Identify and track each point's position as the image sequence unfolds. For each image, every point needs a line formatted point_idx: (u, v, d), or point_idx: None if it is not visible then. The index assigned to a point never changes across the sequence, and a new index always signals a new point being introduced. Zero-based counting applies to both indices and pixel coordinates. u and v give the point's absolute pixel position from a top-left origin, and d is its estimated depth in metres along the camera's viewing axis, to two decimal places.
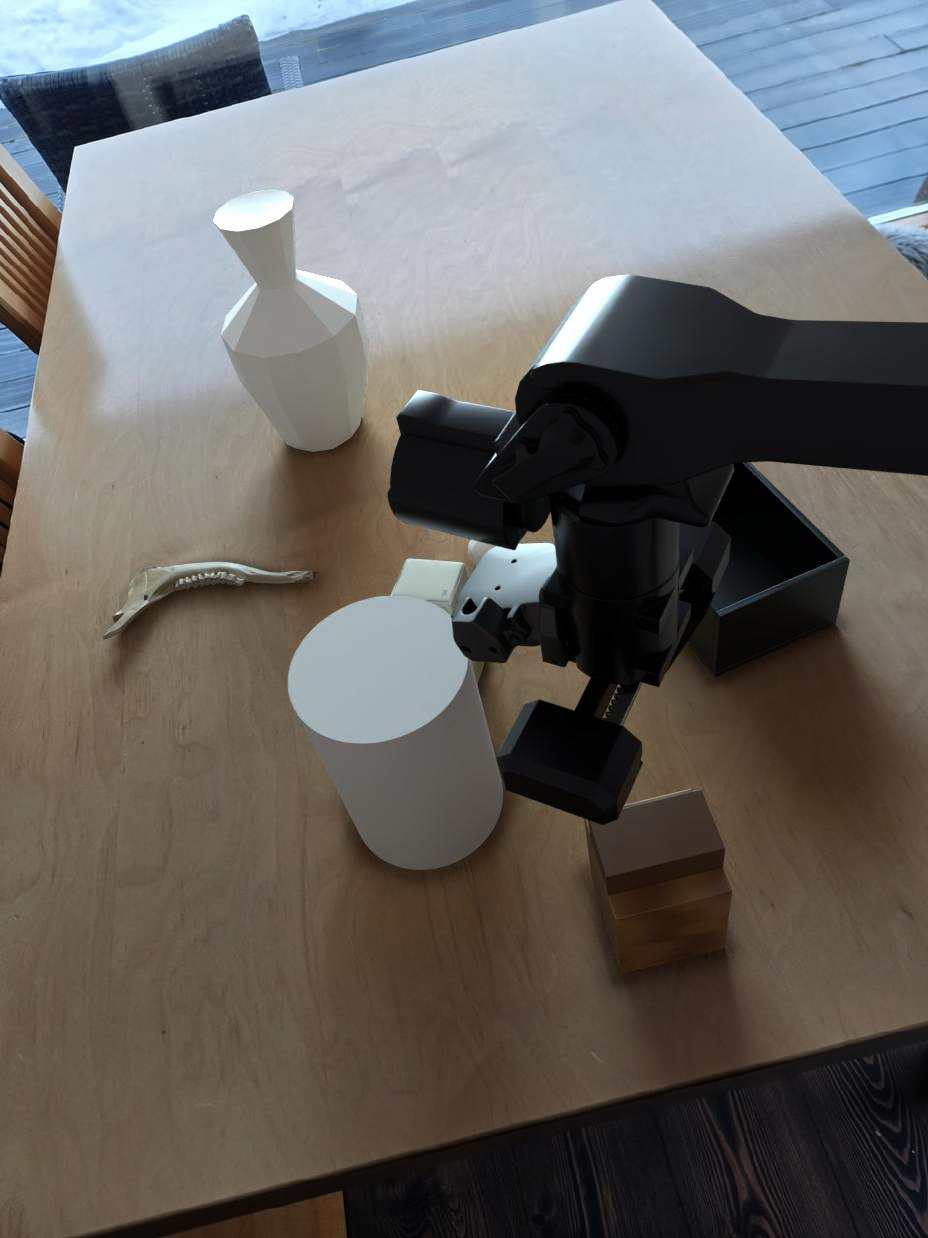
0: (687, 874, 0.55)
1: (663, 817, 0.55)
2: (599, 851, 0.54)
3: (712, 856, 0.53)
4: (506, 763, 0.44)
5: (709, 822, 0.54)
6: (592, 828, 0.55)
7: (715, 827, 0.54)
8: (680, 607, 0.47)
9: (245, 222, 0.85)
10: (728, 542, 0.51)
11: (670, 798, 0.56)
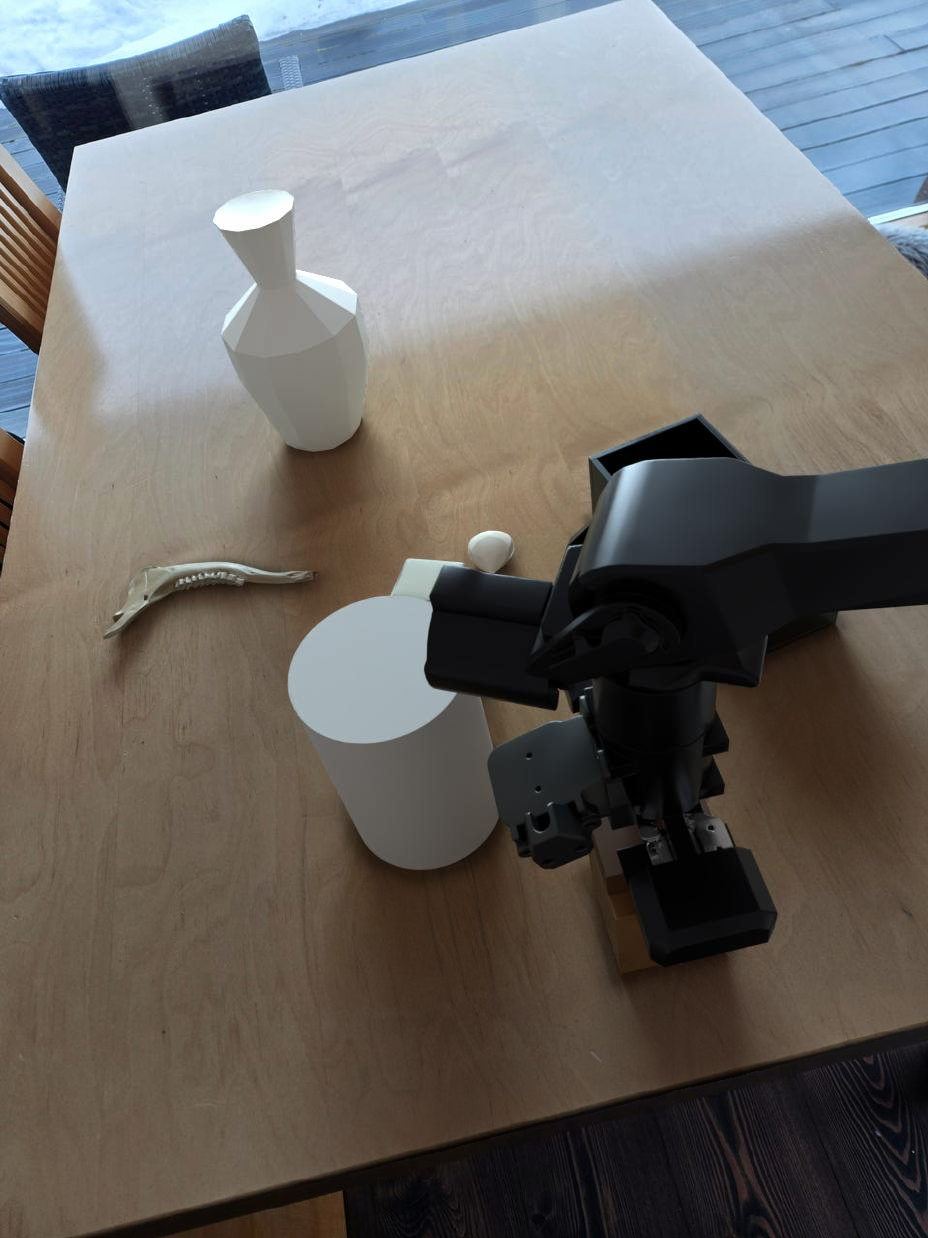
0: None
1: None
2: (599, 851, 0.54)
3: None
4: (667, 943, 0.43)
5: None
6: None
7: None
8: None
9: (245, 222, 0.85)
10: None
11: None
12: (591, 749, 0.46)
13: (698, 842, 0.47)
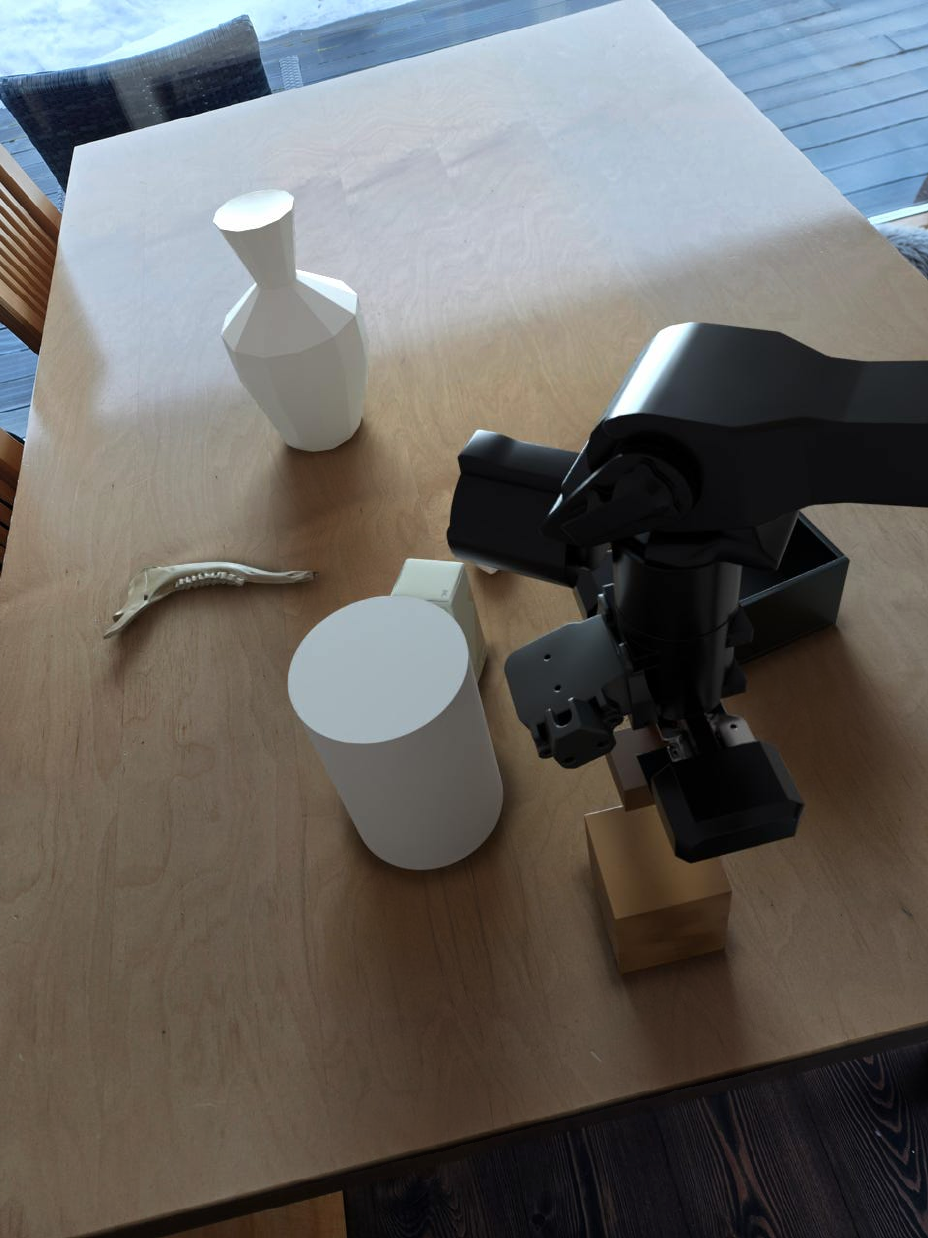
0: None
1: None
2: (616, 766, 0.53)
3: None
4: (694, 835, 0.42)
5: None
6: None
7: None
8: None
9: (245, 222, 0.85)
10: None
11: None
12: (611, 646, 0.45)
13: (720, 742, 0.46)
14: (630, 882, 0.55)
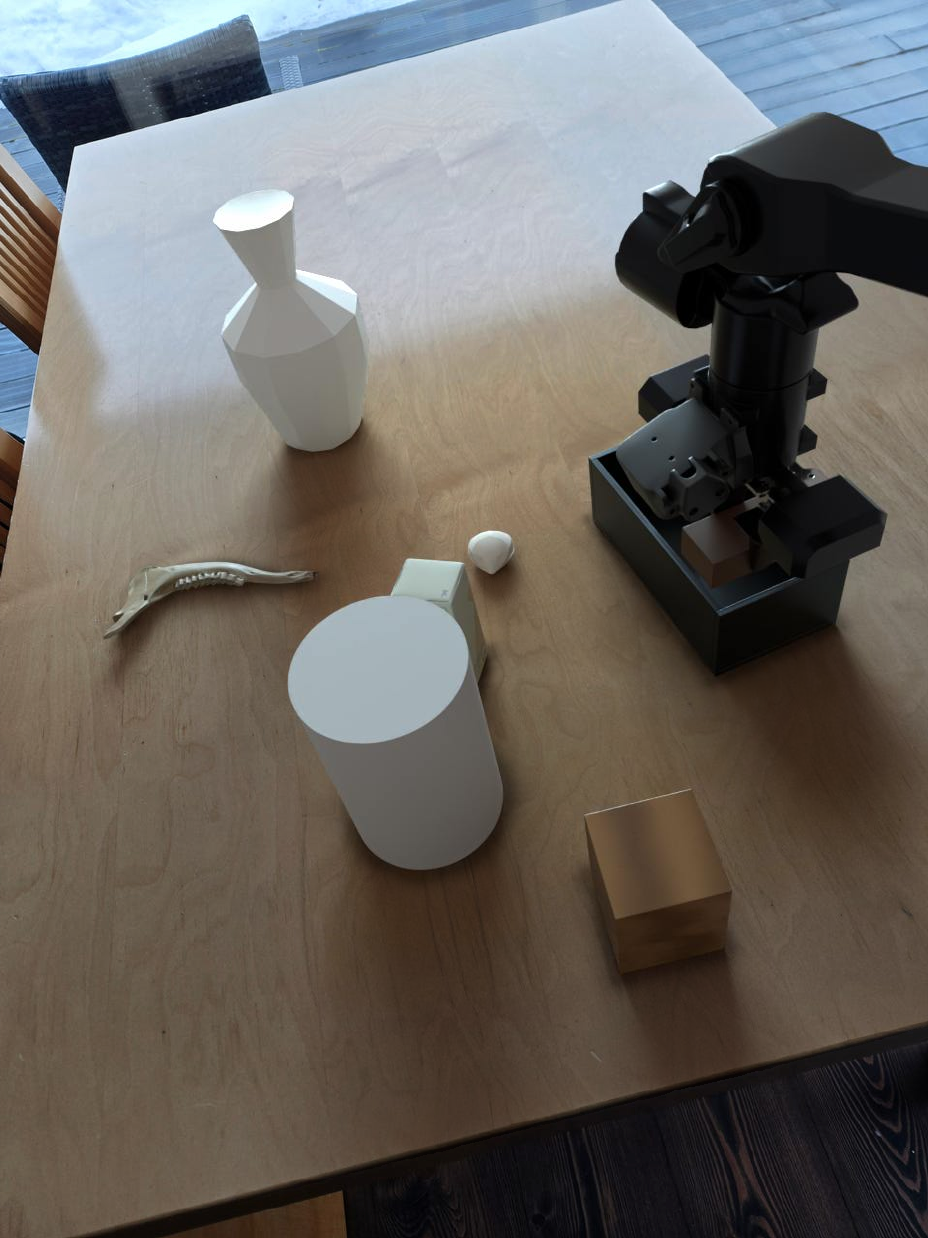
0: None
1: None
2: (701, 548, 0.62)
3: None
4: (809, 547, 0.52)
5: None
6: (689, 534, 0.63)
7: None
8: None
9: (245, 222, 0.85)
10: None
11: (747, 501, 0.65)
12: (710, 417, 0.54)
13: None
14: (630, 882, 0.55)
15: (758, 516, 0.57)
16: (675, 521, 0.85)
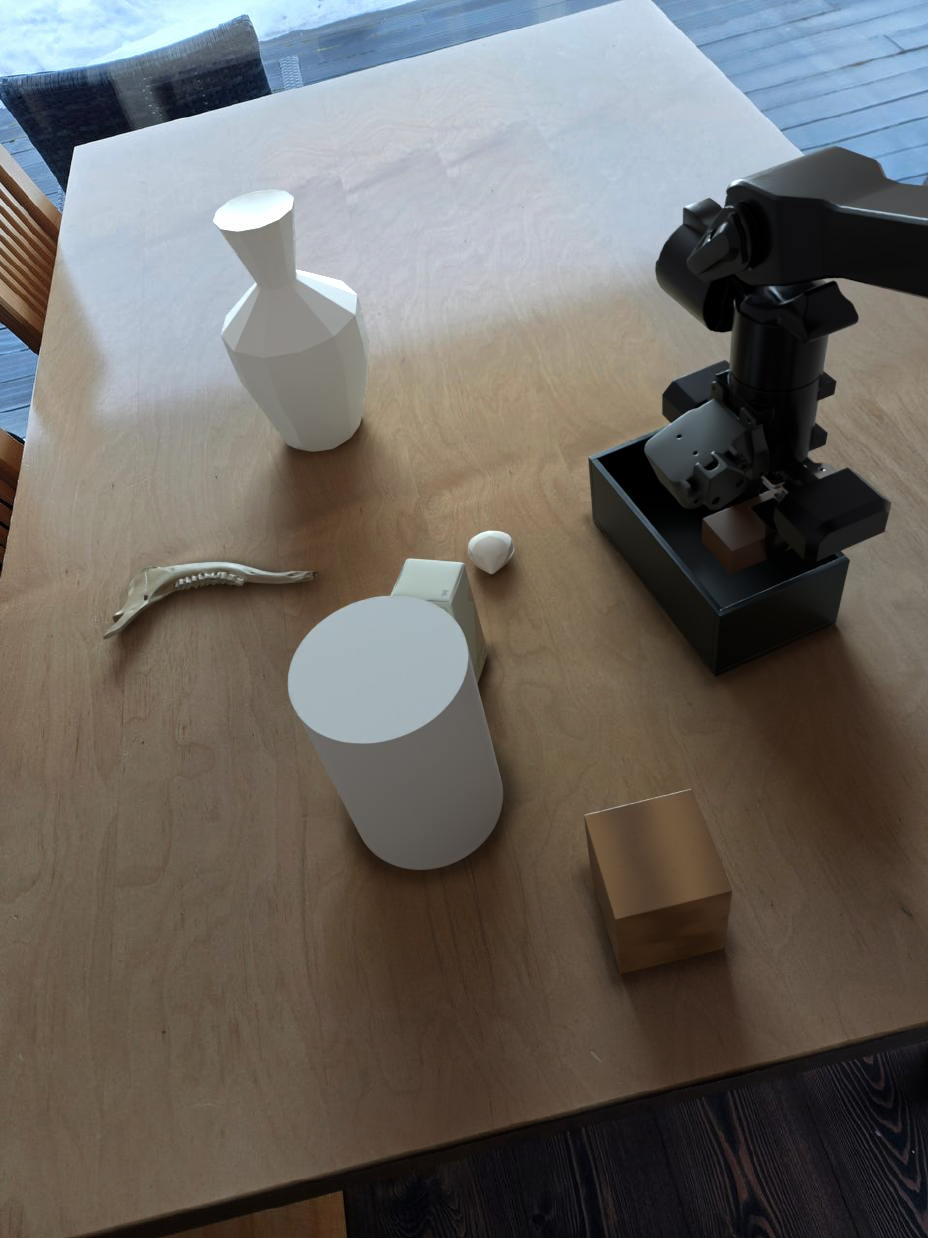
0: (787, 548, 0.69)
1: None
2: (720, 537, 0.68)
3: None
4: (820, 532, 0.57)
5: None
6: (709, 524, 0.69)
7: None
8: None
9: (245, 222, 0.85)
10: None
11: (762, 494, 0.70)
12: (730, 416, 0.60)
13: None
14: (630, 882, 0.55)
15: (773, 506, 0.63)
16: (675, 521, 0.85)
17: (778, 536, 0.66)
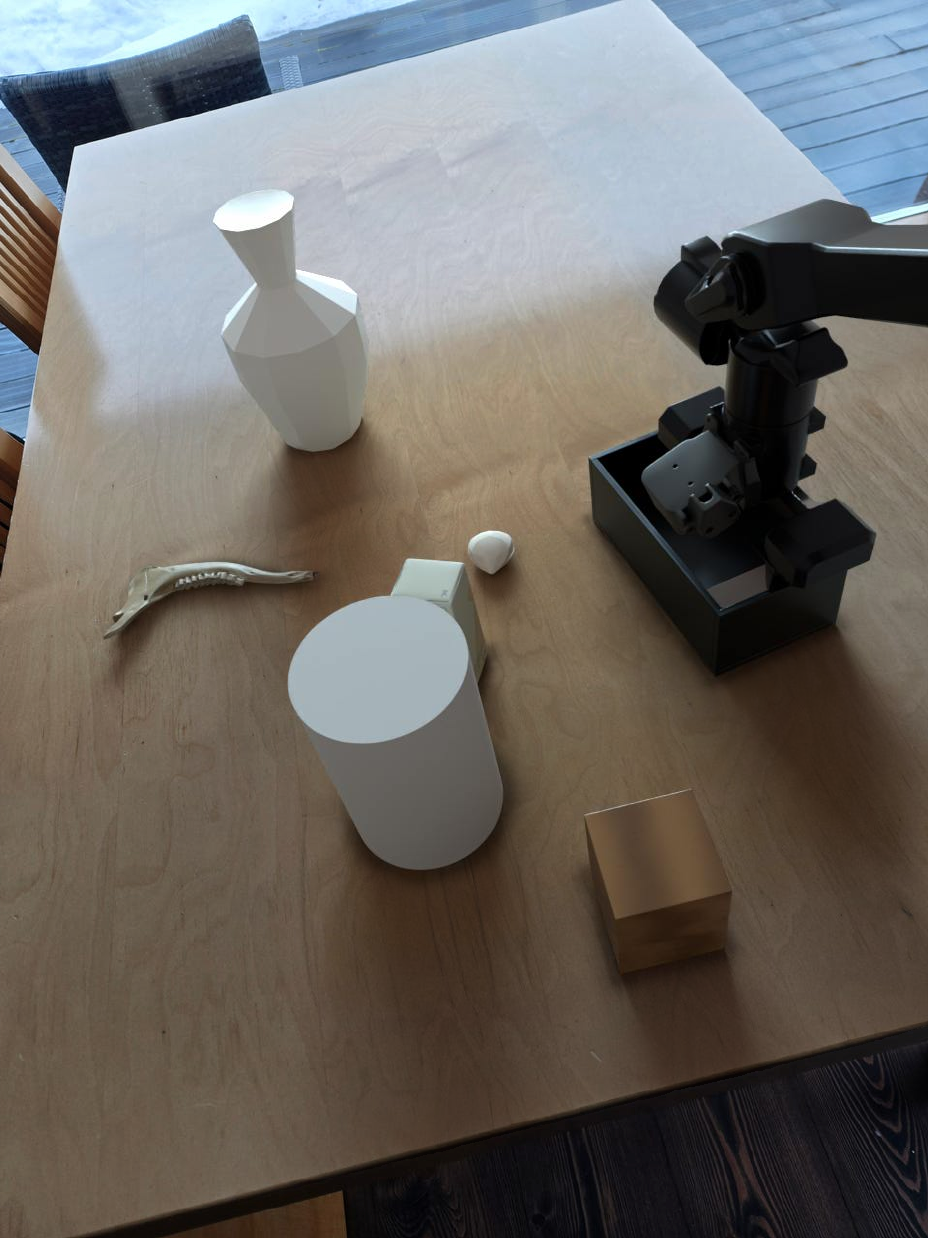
0: None
1: (752, 582, 0.76)
2: None
3: None
4: (809, 562, 0.60)
5: None
6: None
7: None
8: None
9: (245, 222, 0.85)
10: None
11: (753, 570, 0.77)
12: (724, 448, 0.63)
13: None
14: (630, 882, 0.55)
15: None
16: None
17: None
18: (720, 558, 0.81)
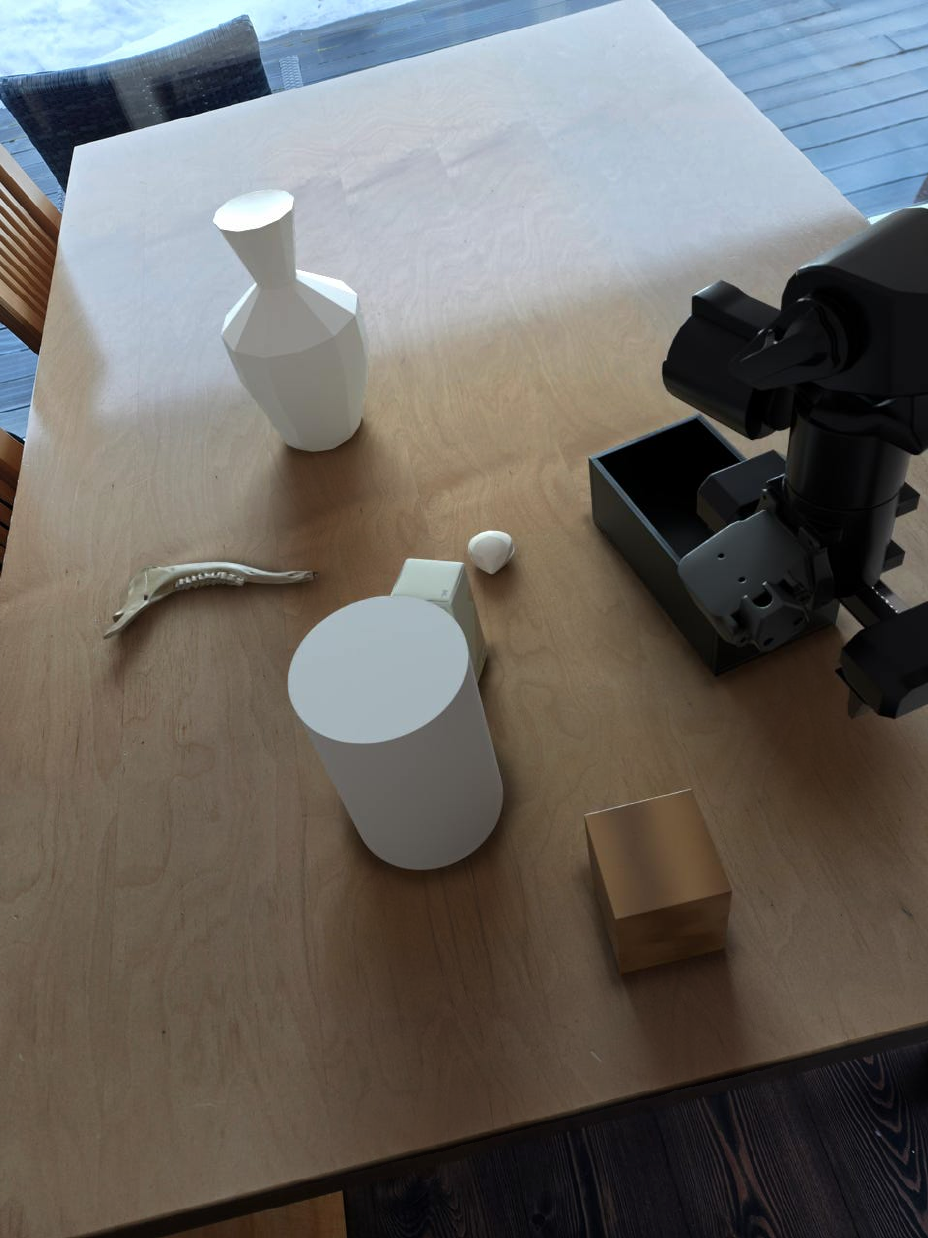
0: None
1: None
2: None
3: None
4: (902, 687, 0.45)
5: None
6: None
7: None
8: None
9: (245, 222, 0.85)
10: None
11: None
12: (785, 533, 0.49)
13: None
14: (630, 882, 0.55)
15: None
16: (675, 521, 0.85)
17: None
18: None
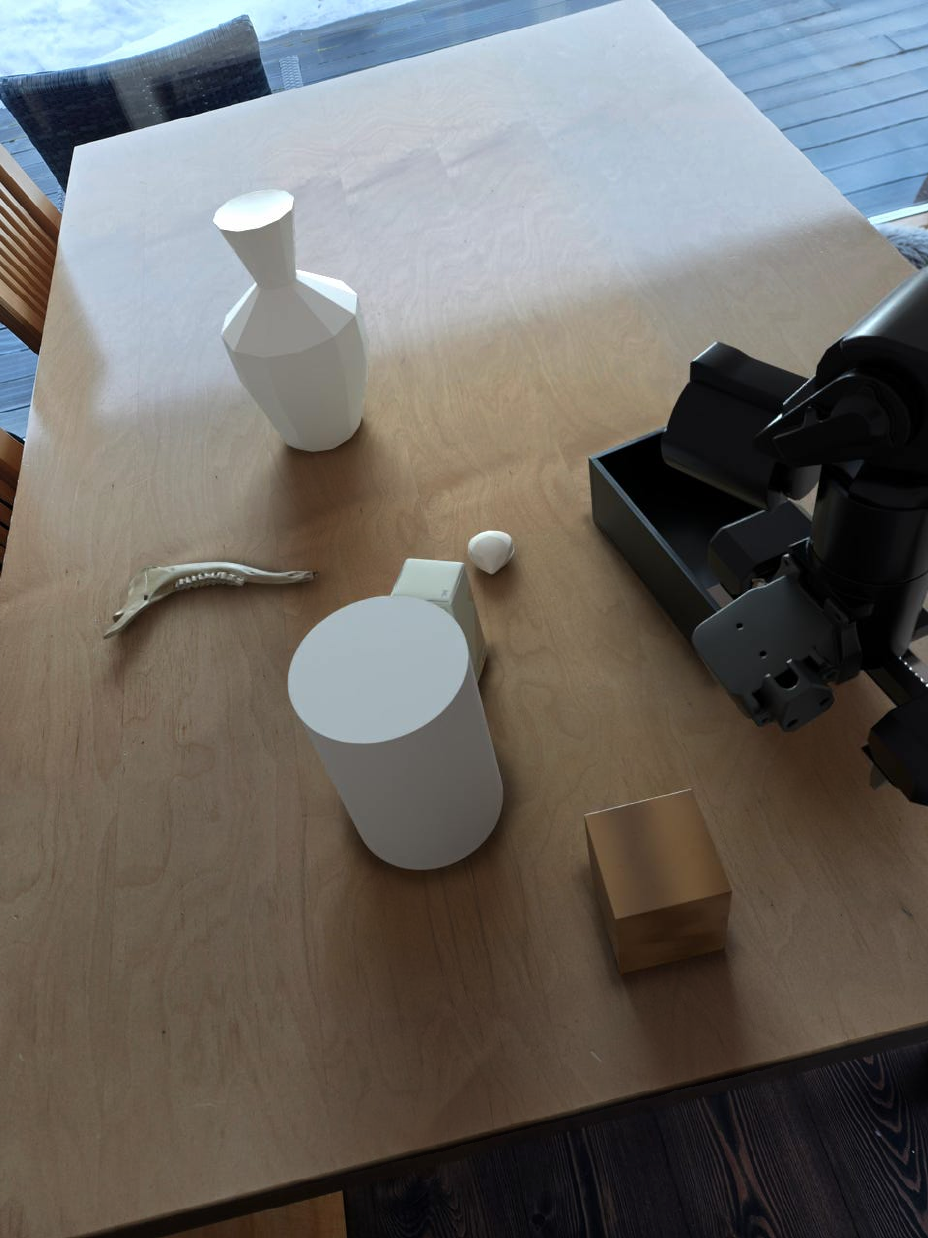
0: None
1: None
2: None
3: None
4: None
5: None
6: None
7: None
8: None
9: (245, 222, 0.85)
10: (804, 509, 0.54)
11: None
12: (809, 604, 0.45)
13: None
14: (630, 882, 0.55)
15: None
16: (675, 521, 0.85)
17: None
18: None
